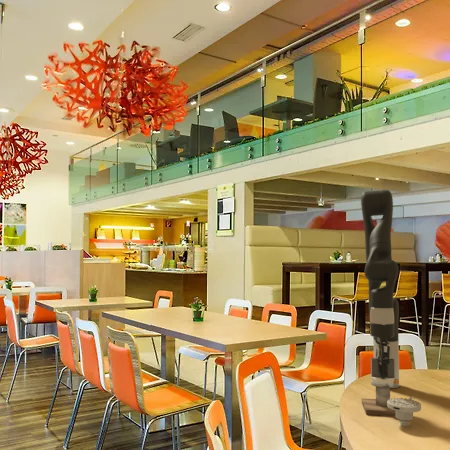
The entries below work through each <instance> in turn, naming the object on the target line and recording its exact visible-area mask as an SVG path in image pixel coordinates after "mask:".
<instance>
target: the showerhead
mask: <svg viewBox="0 0 450 450" xmlns="http://www.w3.org/2000/svg"><path fill="white" fill-rule="evenodd" d="M387 407H388V408H390V409H392V410H395V416H394V417H395V418H396V419H397V420H399V421H400V422H399V423H400V425H401V426H403V427H408V426H409V421H412V420H413V419H414V413H418V412H420V411H421V410H422V403H420V402H419V401H417V400H415V399H413V396H409V398H406V397H405V398H403V397H400V398H398V397H396V398H395V397H394V398H390V400H388V401H387Z"/></svg>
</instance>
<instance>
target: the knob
mask: <svg viewBox="0 0 450 450" xmlns="http://www.w3.org/2000/svg"><path fill="white" fill-rule="evenodd" d="M383 360H386V359H384V358H383ZM389 362H390V363H389V364H388V377H381V376H380V358H374V357H370V368H371V369H370V384H371V385H372V386H373V387H375V388H376V387H382V388H390V389H392V388H391V387H394V386H395V384H399V385H400V379H399V380H398V379H395V376H394V359H389Z"/></svg>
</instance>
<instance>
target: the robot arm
mask: <svg viewBox="0 0 450 450" xmlns="http://www.w3.org/2000/svg"><path fill="white" fill-rule="evenodd" d="M392 194H393V193H392V192H391V191H390V190H388V189H379V190H378V189H377V190H367V191H363V192H362V194H361V196H360V205H361V214H362V221H363V227H364V239H365V241H364V243H365V260H366V261H365V266H364V277H365V278H366V279H367V283H368V312H369V334H370V336H371V337H372V339H373V340H372V341H373V358H380V376H381V377H388V364H389V363H390V362H389V359H394V376H395V379H398V380H399V381H400V354H399V353H400V352H399V351H400V348H399V347H400V346H399V342H400V341H399V320H400V319H399V316H400V305H399V301H398V299H397V298H396V297H394V290H395V285H396V282H397V279H398V275H399V268H400V267H399V265H398V263H397V262H396V261H395V260H392V241H391V240H392V239H391V237H392V236H391V235H392V227H393V225H392V224H393V215H394V212H393V211H394V201H393V195H392ZM373 216H374V217H376V216H377V217H378V216H382V217H381V219H380V221H379V222H378V223H377V224H376V225H375V223H374V221H373V218H372V217H373ZM384 282H385V283H386V284H385V285H384V286H383V287H382V286H381V285H382V284H383V283H384ZM383 358H384V359H386V360H383ZM396 388H397V389H398V388H400V383H399V384H395V386H394V387H391V388H390V389H396Z"/></svg>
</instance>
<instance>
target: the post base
mask: <svg viewBox="0 0 450 450" xmlns="http://www.w3.org/2000/svg"><path fill="white" fill-rule="evenodd" d="M390 399H391V388H382V387H376V386H375V398H361V404H362V408H363V410H364V412H365V415H366V416H383V417H396V416H395V410H392V409H390V408H388V407H387V401H388V400H390Z"/></svg>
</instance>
